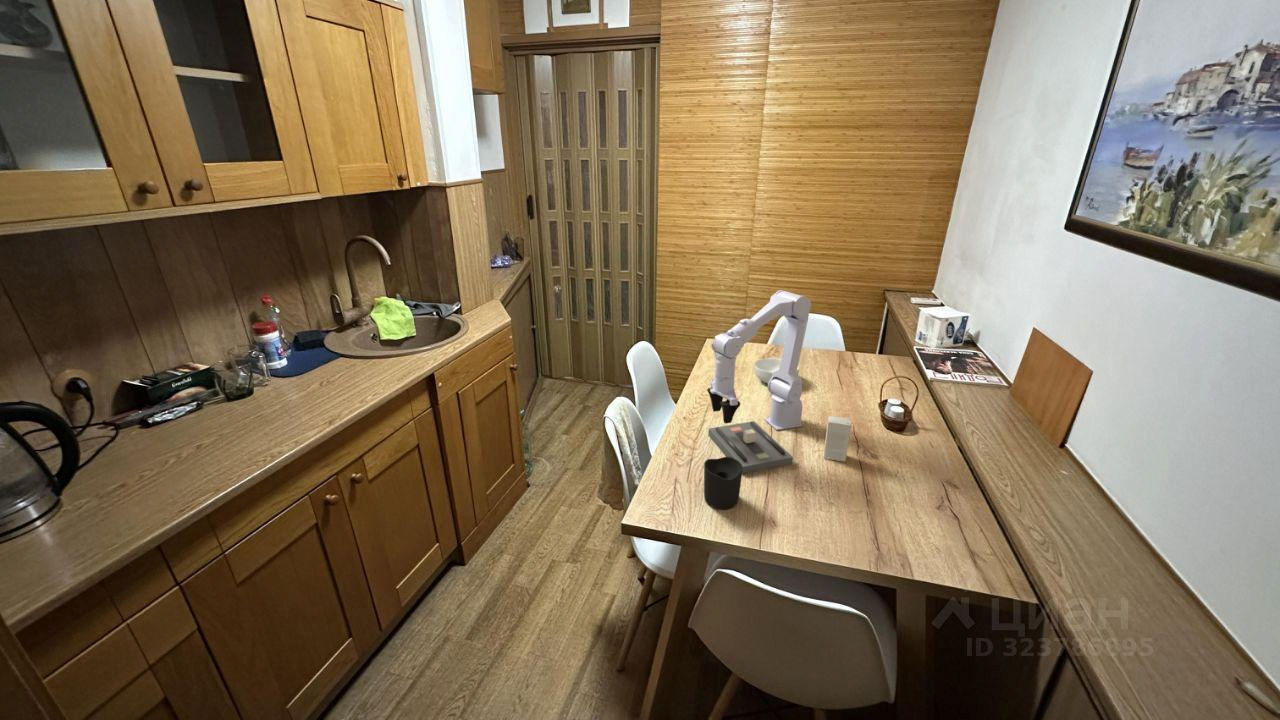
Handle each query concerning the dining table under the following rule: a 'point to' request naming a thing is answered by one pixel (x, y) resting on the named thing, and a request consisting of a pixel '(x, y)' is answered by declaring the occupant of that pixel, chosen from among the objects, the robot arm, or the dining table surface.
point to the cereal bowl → (767, 368)
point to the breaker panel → (750, 447)
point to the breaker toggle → (749, 436)
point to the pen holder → (722, 482)
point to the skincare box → (837, 438)
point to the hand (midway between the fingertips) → (722, 416)
